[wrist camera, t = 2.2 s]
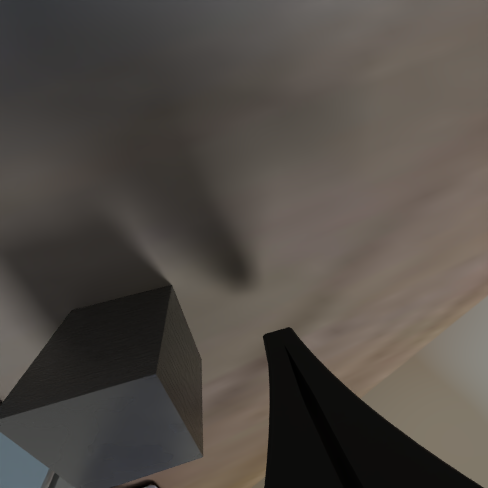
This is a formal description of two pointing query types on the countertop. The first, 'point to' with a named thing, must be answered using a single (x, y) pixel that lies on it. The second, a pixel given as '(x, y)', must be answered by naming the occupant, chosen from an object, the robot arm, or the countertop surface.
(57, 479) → the grey long flat piece
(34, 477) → the pale blue stick
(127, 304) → the block
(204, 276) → the countertop surface
